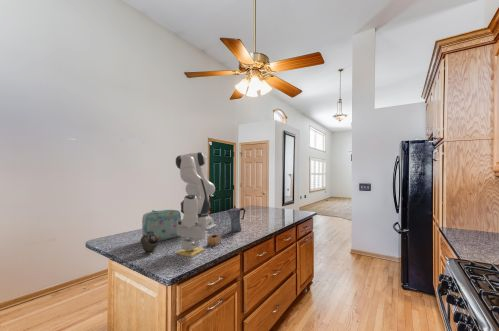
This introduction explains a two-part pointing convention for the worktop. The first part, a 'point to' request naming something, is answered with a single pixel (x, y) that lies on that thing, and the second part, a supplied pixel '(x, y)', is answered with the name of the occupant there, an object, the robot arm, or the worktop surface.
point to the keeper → (191, 252)
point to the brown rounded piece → (214, 240)
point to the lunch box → (161, 223)
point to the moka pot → (235, 218)
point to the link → (189, 244)
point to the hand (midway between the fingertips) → (190, 245)
